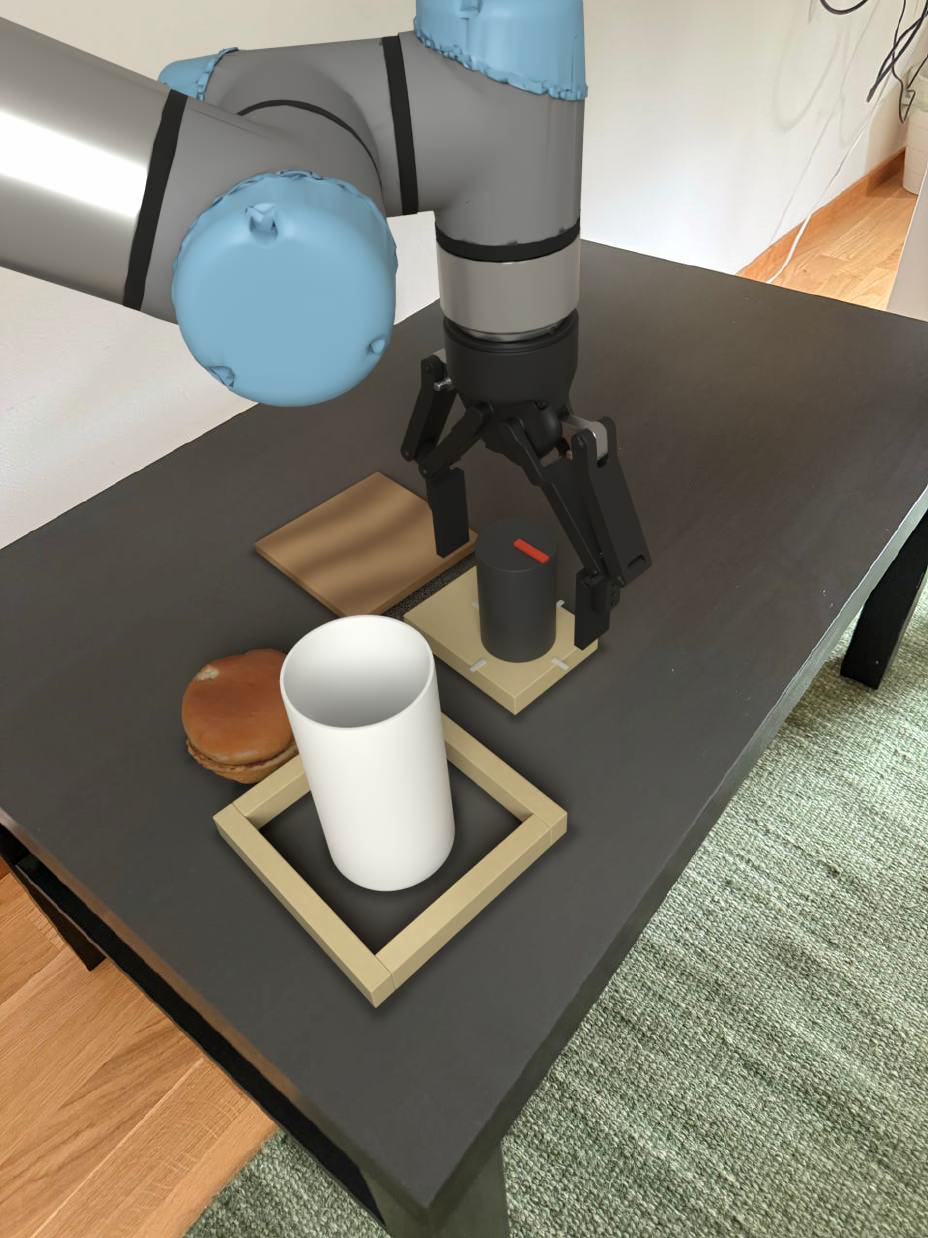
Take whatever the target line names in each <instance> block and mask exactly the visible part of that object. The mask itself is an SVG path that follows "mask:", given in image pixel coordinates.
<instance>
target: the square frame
mask: <svg viewBox="0 0 928 1238" xmlns="http://www.w3.org/2000/svg"><path fill="white" fill-rule="evenodd" d="M441 717H442V725H443V734H444V742H445V750H446V758H447V761H449V762H450V763H451V764H452V765H453V766H455V767H456V768H457V769H458V770H460V771H461V772H462V773H463V774H465V776H466V777H468V779H470V780H472V781H473V782H474V783H475V784H476V785H477V786H479V787H480V788H481V789H482V790H483V791H485V792H486V793H487V794H488V795H489V796H491V798H493V799H495V801H496V802H498V803H499V804H500V805H502V807H504V808H505V809H506V810H508V811H509V812H510V813H511V814H512V815H513V816H514V817H516V818H517V819H518V820H519V821H521V822H522V823H520V825H519V826H518V827H517V828H516V829H515V830H513V831H512V832H511V833H510V834H509V835H508V836H507V837H506V838H505V839H503V840H502V841H501V842H500V843H499V844H497V845H496V846H495V847H494V848H493V849H492V850H491V851H490V852H489V853H488V854H486V855H485V856H484V857H483V858H482V859H481V860H480V861H478V863H476V864H475V865H474V866H473V867H472V868H471V869H470V870H469V871H467V873H465V874H464V875H463V876H462V877H460V879H458V880H457V881H456V882H455V883H454V884H452V886H451V887H449V888H448V889H447V890H446V891H445V892H444V893H443V894H441V896H440V897H438V898H437V899H436V900H435V901H434V902H432V904H430V906H428V907H427V908H426V909H424V911H423V912H421V914H419V915H418V916H417V917H416V918H414V920H413V921H412V922H410V923H409V924H408V925H407V926H405V927H404V929H402V930H401V931H400V932H399V933H398V934H396V936H395V937H393V938H392V939H391V940H390V941H389V942H388V943H387V944H386V945H385V946H383V947H382V948H381V949H380V950H378V952H377V953H376V954H374V953H373V952H372V951H371V950H370V949H369V948H368V947H367V946H366V945H365V944H364V942H362V940H360V938H359V937H358V936H357V935H356V934H355V933H354V932H353V931H352V930H351V929H350V928H349V926H347V924H346V923H345V922H344V921H343V920H342V919H341V918H340V917H339V915H337V913H336V912H335V911H333V909H332V908H331V907H330V906H329V905H328V904H327V903H326V902H325V901H324V900H323V899H322V898H321V896H319V894H317V892H316V891H315V890H314V889H313V888H312V887H311V886H310V884H308V882H306V880H305V879H303V877H302V876H301V875H300V874H299V873H298V872H297V871H296V870H295V869H294V868H293V866H291V864H290V863H289V862H288V861H287V860H286V858H284V857H283V856H282V854H281V853H279V851H278V850H277V849H276V848H275V847H274V846H273V845H272V844H271V843H270V842H269V841H268V840H267V839H266V838H265V837H264V836H263V834H261V833H260V831H259V830H260V829H261V828H262V827H264V826H265V825H266V824H268V823H269V822H271V821H272V820H273V819H274V818H276V817H277V816H279V815H280V814H281V813H283V812H284V811H285V810H286V809H288V808H289V807H290V806H291V805H294V803H296V802H297V801H298V800H299V799H301V798H302V797H303V796H305V795H306V794H308V793H309V792H311V789H310V786H309V783H308V780H307V776H306V773H305V770H304V767H303V763H302V760H301V757H300V754H298V755H297V756H295V757H294V758H293V759H291V760H290V761H289V762H287V763H286V764H284V765H283V766H282V767H280V768H279V769H278V770H276V771H275V772H273V773H272V774H271V775H269V776H268V777H267V778H265V779H264V780H262V781H259V782H257V784H255V785H254V786H253V787H251V788H250V789H249V790H247V791H246V792H245V793H243V794H242V795H240V796H239V797H238V798H236V799H235V800H234V801H232V803H229V804H228V805H226V807H224V808H222V809H221V810H220V811H218V812H217V813H216V814H214V815H213V816H212V819H213V822H214V824H215V825H216V828H217V830H218V833H219V835H220V836H221V837H222V838H223V839H224V841H225V842H226V843H227V844H228V845H229V846H230V847H231V848H232V850H233V851H234V852H235V853H236V854H237V855H238V856H239V857H240V858H241V859H242V861H243V863H245V864H246V865H247V866H248V867H249V869H250V870H251V871H252V872H253V873H254V874H255V876H256V877H258V879H259V880H260V881H261V882H262V883H263V884H264V885H265V887H266V888H267V889H268V890H269V891H270V892H271V893H272V894H273V895H274V897H275V898H276V899H277V900H278V901H279V902H280V904H282V906H283V907H284V908H285V909H286V910H287V911H288V912H289V913H290V915H292V917H293V918H294V919H295V920H296V921H297V922H298V924H300V926H301V927H302V928H303V929H304V930H305V931H306V932H307V934H309V936H310V937H311V938H312V939H313V940H314V941H315V942H316V943H317V944H318V946H319V947H320V948H321V949H322V950H323V952H324V953H325V954H327V956H328V957H329V958H330V959H331V961H332V962H333V963H334V964H335V965H336V966H337V967H338V968H339V969H340V970H341V971H342V972H343V973H344V975H345V976H346V977H347V978H348V979H349V981H351V983H352V984H353V985H354V986H355V987H356V988H357V989H358V990H359V992H361V994H362V995H363V996H364V997H365V998H366V999H367V1001H369V1003H370V1004H371V1005H372V1006H373V1007H374V1008H378V1007H379V1006H380V1005H381V1004H382V1003H384V1001H385V1000H386V999H388V997H390V996H391V994H393V993H394V992H395V991H396V990H398V989H399V988H400V987H401V985H403V984H404V983H405V982H406V981H407V980H409V978H411V976H412V975H414V974H415V973H416V972H417V971H418V970H419V969H420V968H421V967H422V966H423V965H424V964H426V963H427V961H429V960H430V959H431V958H432V957H433V956H434V955H435V954H437V953H438V951H440V950H441V949H442V948H443V947H444V946H445V945H446V944H447V943H448V942H449V941H450V940H451V939H452V938H454V936H456V935H457V934H458V933H459V932H460V931H461V930H462V929H463V928H464V927H465V926H466V925H468V923H470V922H471V921H472V920H473V919H474V918H475V917H476V916H477V915H478V914H480V913H481V911H483V910H484V909H485V908H486V907H487V906H488V905H489V904H490V903H491V902H492V901H494V900H495V899H496V898H497V897H498V896H499V895H500V894H501V893H503V891H504V890H506V888H507V887H509V885H511V884H512V883H513V882H514V881H515V880H516V879H518V877H519V876H520V875H522V873H524V872H525V871H526V870H527V869H528V868H529V867H530V866H532V864H534V862H535V861H536V860H538V859H539V858H540V857H541V856H542V855H543V854H544V853H545V852H546V851H548V849H550V847H551V846H553V845H554V844H556V842H557V841H558V840H559V839H560V838H561V837H563V836H564V835H565V833H567V832H568V830H567V829H568V812H567V811H566V810H565V809H564V808H563V807H561V806H560V805H559V804H557V803H556V802H554V800H552V799H551V798H550V797H548V796H547V795H546V794H545V793H544V792H542V791H541V790H539V788H537V787H536V786H535V785H534V784H532V783H531V782H530V781H528V780H527V779H526V778H525V777H523V776H522V775H521V774H520V773H519V772H517V771H516V770H514V768H512V767H511V766H510V765H508V764H507V763H506V762H505V761H503V760H502V759H501V758H500V757H499V756H497V755H496V754H495V753H494V752H492V751H491V750H489V749H488V748H487V747H486V746H485V745H483V744H482V743H481V742H480V741H479V740H478V739H476V738H475V737H473V736H472V735H471V734H469V733H468V732H467V731H466V730H464V729H463V728H462V727H461V726H460V725H459V724H457V723H456V722H455V721H453V720H452V719H451V718H450V717H448V716H447V715H445V713H443V712H442V711H441Z"/></svg>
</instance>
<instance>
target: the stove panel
mask: <svg viewBox="0 0 928 1238" xmlns="http://www.w3.org/2000/svg"><path fill="white" fill-rule="evenodd" d="M564 604H565V601H564V600H562V599H559V600H558V601H557V603H556V639H555V642H554V645H553V646H552V648H551V649H550V650H549V651H548V652H547V653H546V654H545V655H543V656H542V657H540V658H538V659H536V660H533V661H529V662H524V663H512V662H506V661H503V660H500V659H498V658H496V657H494V656H492V655H491V654H490V653H489V652H488V651H487V650H486V649H485V648H484V646H483V644H482V641H481V633H480V617H479V602H478V587H477V572H476V565H474V566H473V567H471V568H470V569H469V570H467V571H466V572H464V573H463V574H460V576H458V577H457V578H455V579H454V580H452V581H451V582H449V583H448V584H447V585H445V586H444V587H442V588H441V589H440V590H438V591H437V592H435V593H434V594H432V595H430V596H429V597H428V598H426V599H425V600H423V601H422V602H420V603H419V604H417V605H416V606H415V607H413V608H412V609H410V610H409V611H408V612H406V613H404V614H403V616H402V617H403V622H404V623H406V624H407V625H409V626H411V627H412V628H414V629H415V630H416V631H418V632H419V633H420V634H421V635H422V636H423V637H424V639H425V640H426V641H427V643H428V645H429V646H430V649H431V651H432V654H433V655H435V656H436V657H437V658H439V659H440V660H441V661H442V662H444V663H445V664H447V665H448V666H449V667H450V668H452V669H453V670H455V672H457V673H458V674H460V675H461V676H463V678H465V679H466V680H468V681H469V682H470V683H472V684H473V685H474V686H476V687H477V688H478V689H480V690H481V691H482V692H483V693H484V694H486V695H487V696H489V697H490V698H491V699H493V700H494V701H496V702H497V703H498V704H500V705H501V706H502V707H504V708H505V709H506V710H508V711H509V712H510V713H512V714H513V715H514V716H516V715H518V713H520V712H521V711H523V710H524V709H525V708H526V707H527V706H529V705H530V704H531V703H532V702H534V700H536V699H537V698H539V697H540V696H541V695H543V693H545V692H546V691H547V690H549V688H550V687H552V686H553V685H555V684H556V683H557V682H558V681H560V680H561V679H562V678H563V677H564V676H565V675H567V674H568V673H569V672H570V671H571V670H573V669H574V668H575V667H577V666H578V665H579V664H580V663H581V662H583V661H584V660H585V659H586V658H588V657H589V656H590V655H591V654H593V653H595V651H596V650H597V649H598V645H599V638H598V639H597V640H595V641H594V642H593V643H592V644H590V645H589V646H588V647H587V648H585V649H584V650H583V651H582V650H580V649H579V648H577V647H576V646H574V626H575V614H573V613H572V612H570V611H568V610H567V609H566V608H564V607H563V606H562V605H564Z"/></svg>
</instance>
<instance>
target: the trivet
mask: <svg viewBox="0 0 928 1238" xmlns="http://www.w3.org/2000/svg"><path fill="white" fill-rule="evenodd" d="M478 534H479V533H477V532H476V531H474V530H472V529H471V528H469V539H470V541H469V542H468V543H466V544H465V545H463V546H462V547H460V548H459V549H457V550H456V551H454V552H453V553H451V554H450V555H448V556H447V557H445V558H444V559H443V558H441V557H440V556H438V555H437V553H436V544H435V535H434V526H433V517H432V510H431V509H430V507H429V505H428V501H427V500H425V499H423V498H421V497H419V496H418V495H417V494H415V493H413V492H412V491H410V490H408V489H407V488H405V487H404V486H402V485H400V484H399V483H398V482H396V481H394V480H392V479H391V478H389V477H387V476H386V475H384V474H382V472H379V471H376V472H374V473H372V474H371V475H369V476H367V477H365V478H364V479H362V480H360V481H358V482H356V483H355V484H353V485H351V486H350V487H348V488H347V489H345V490H343V491H342V492H340V493H338V494H336V495H334V496H332V497H331V498H330V499H328V500H326V501H324V502H322V503H320V504H319V505H318V506H316V507H313V509H311V510H309V511H307V512H305V513H303V514H302V515H300V516H299V517H297V518H295V519H294V520H292V521H290V522H288V523H286V524H285V525H283V526H281V527H280V528H279V529H277V530H274V531H273V532H271V533H270V534H268V535H266V536H264V537H263V538H261V539H259V540H258V541H256V542H254V549H255V551H256V553H257V554H259V555H260V556H261V557H263V558H264V559H265V560H266V561H267V562H269V563H270V564H271V565H273V566H274V567H275V568H277V569H278V570H279V571H280V572H281V573H283V574H284V575H286V576H287V577H288V578H289V579H291V580H292V582H294V583H296V584H297V585H298V586H299V587H300V588H302V589H303V590H304V591H306V592H307V593H308V594H309V595H311V596H312V597H313V598H315V599H316V600H317V601H318V602H320V603H321V604H322V605H324V607H326V608H327V609H328V610H329V611H332V613H334V615H336V616H337V617H339V619H340V618H344V617H349V616H356V615H378V616H382V615H383V614H384V613H385V612H387V611H388V610H390V609H391V608H393V607H394V606H396V605H397V604H398V603H400V602H401V601H403V600H404V599H406V598H407V597H409V596H410V595H412V594H413V593H415V592H416V591H417V590H419V589H421V588H423V586H425V585H426V584H428V583H430V582H431V581H432V580H435V579H436V578H437V577H439V576H440V575H441V574H443V573H444V572H445V571H447V570H449V569H450V568H452V567H454V566H455V565H457V563H459V562H461V561H462V560H463V559H465V558H466V557H468V556H469V555H471V554H473V553H475V541H476V538H477V536H478Z"/></svg>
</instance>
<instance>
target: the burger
mask: <svg viewBox="0 0 928 1238" xmlns="http://www.w3.org/2000/svg"><path fill="white" fill-rule="evenodd" d="M287 655H288V654H286V653H284V652H282V651H279V650H276V649H273V648H258V649H252V650H248V651H247V652H246V653H242V654H241V653H240V654H233V655H232V654H231V655H228V656H225V657H220V658H217V659H215V660H212V661H211V662H209V663H207V664H206V665H205V666H203V667H202V668H201V670H200V671H199V672H197V673H196V674H195V676H194V677H193V678H192V679H191V681H189V683H188V685H187V687H186V690H185V691H184V694H183V696H182V701H181V721H182V726H183V729H184V732H185V734H186V736H187V739H186V742H185V743H186V745H187V752H188V753H189V754H190V755H191V756H192V757H193V758H194V759H195V760H196V761H197V764H201V765H202V767H203V768H206V769H207V770H210V771H212V772H213V773H214V774H215V775H218V776H221V777H223V778H225V779H228V780H234V781H237V782H238V783H240V784H255V783H260V782H261V781H262V780H264V779H265V778H267V777H268V776H269V775H271V774H272V773H273V772H275V771H276V770H278V769H279V768H280V767H282V766H283V765H284V764H286V763H287V762H289V761H290V760H291V759H293V758H294V757H295V756H297V755H298V754H299V750H298V747H297V744H296V741H295V737H294V734H293V731H292V728H291V724H290V721H289V718H288V715H287V711H286V708H285V705H284V701H283V698H282V694H281V687H280V674H281V669H282V666H283V663H284V661H285V659H286V657H287Z"/></svg>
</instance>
